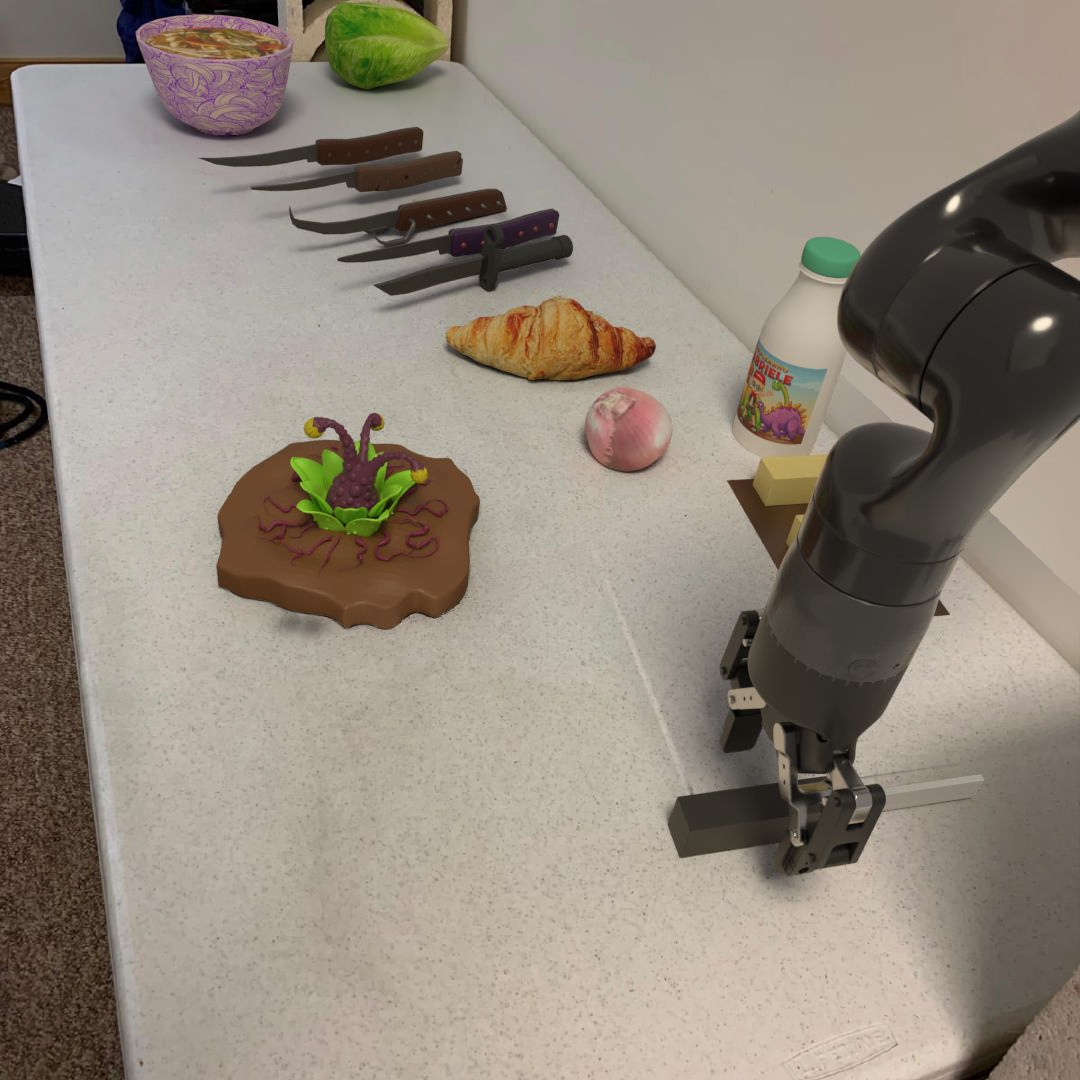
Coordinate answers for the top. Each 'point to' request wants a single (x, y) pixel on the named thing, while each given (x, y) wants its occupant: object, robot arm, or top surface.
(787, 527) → the butter board
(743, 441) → the milk bottle
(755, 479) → the butter slice
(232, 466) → the top surface
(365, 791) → the top surface
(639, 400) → the onion
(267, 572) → the plant
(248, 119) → the bowl of food
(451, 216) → the knife set
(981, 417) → the robot arm
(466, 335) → the croissant
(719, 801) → the butter knife
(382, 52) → the lettuce
